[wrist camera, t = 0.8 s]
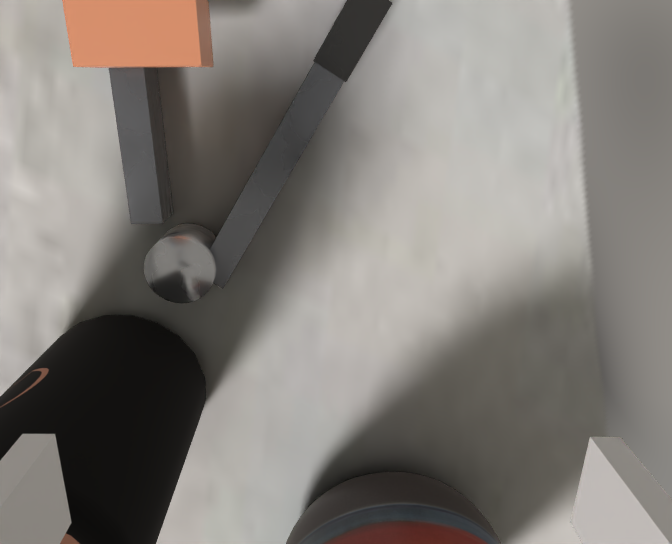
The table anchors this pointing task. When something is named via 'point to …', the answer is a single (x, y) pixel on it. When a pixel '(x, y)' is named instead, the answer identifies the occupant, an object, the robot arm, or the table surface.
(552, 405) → the table surface
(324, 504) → the vase
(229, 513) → the table surface
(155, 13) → the orange rectangular block
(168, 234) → the grey long bar
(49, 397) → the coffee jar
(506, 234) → the table surface
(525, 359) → the table surface
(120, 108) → the tongs fixed arm
